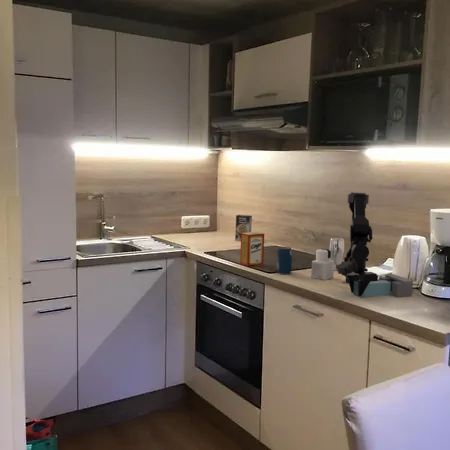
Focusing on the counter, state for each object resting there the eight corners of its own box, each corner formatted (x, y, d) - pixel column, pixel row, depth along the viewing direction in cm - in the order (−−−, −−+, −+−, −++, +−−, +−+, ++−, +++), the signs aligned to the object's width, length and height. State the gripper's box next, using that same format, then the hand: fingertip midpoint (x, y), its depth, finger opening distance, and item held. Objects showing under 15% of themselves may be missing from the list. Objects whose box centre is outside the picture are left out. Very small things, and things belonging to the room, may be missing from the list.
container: (317, 274, 252) (318, 247, 250) (333, 277, 248) (335, 249, 246) (310, 277, 246) (312, 249, 244) (327, 280, 241) (328, 251, 240)
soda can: (294, 273, 254) (295, 247, 253) (285, 275, 249) (287, 249, 247) (281, 270, 259) (282, 245, 257) (273, 273, 253) (274, 247, 252)
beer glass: (325, 269, 265) (327, 238, 263) (332, 267, 270) (334, 237, 268) (338, 271, 261) (340, 240, 259) (345, 269, 266) (347, 239, 264)
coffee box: (234, 240, 344) (235, 215, 342) (237, 239, 350) (238, 214, 348) (248, 241, 342) (249, 216, 340) (251, 240, 348) (252, 215, 346)
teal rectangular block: (353, 294, 214) (354, 281, 213) (383, 292, 219) (384, 279, 218) (359, 297, 209) (360, 284, 209) (390, 295, 214) (391, 282, 214)
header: (378, 292, 222) (379, 274, 221) (392, 291, 225) (393, 274, 224) (396, 300, 211) (398, 281, 210) (411, 298, 213) (412, 280, 213)
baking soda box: (247, 266, 267) (248, 234, 264) (240, 263, 272) (241, 232, 270) (263, 264, 272) (264, 233, 270) (255, 262, 277) (256, 231, 275)
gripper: (327, 251, 215) (325, 289, 217) (354, 260, 198) (351, 302, 200) (352, 250, 219) (349, 288, 221) (380, 259, 202) (377, 300, 204)
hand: (356, 294), depth 211 cm, fingers closed on teal rectangular block, 5 cm apart
